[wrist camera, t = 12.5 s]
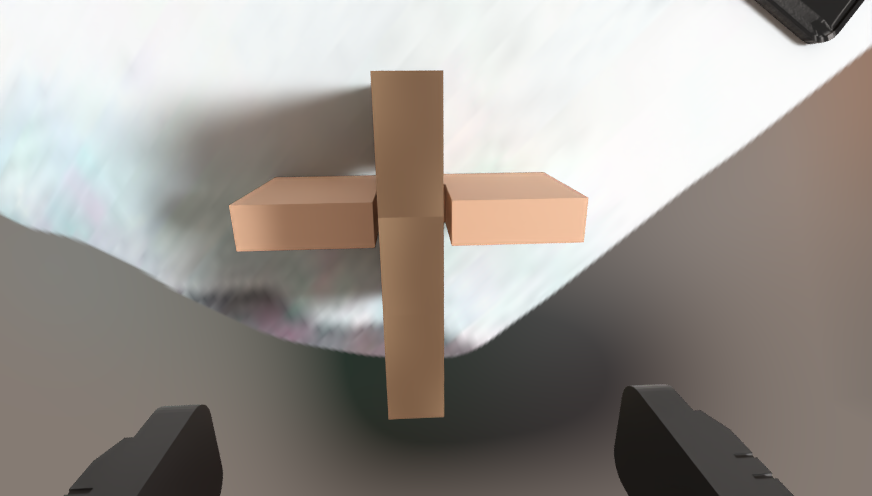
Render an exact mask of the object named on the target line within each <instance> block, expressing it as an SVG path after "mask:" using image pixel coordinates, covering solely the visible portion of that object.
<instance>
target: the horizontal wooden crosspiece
mask: <svg viewBox="0 0 872 496" xmlns="http://www.w3.org/2000/svg"><path fill="white" fill-rule="evenodd" d="M443 199H444V222H445V223H446V227H447V230H448V234H449V237H450V241H451V244H452V246H462V245H499V244H537V243H574V242H584V234H585V225H586V216H587V206H588V197H586V196H584V195H583V194H581V193H579V192H577V191H576V190H574V189H572V188H570V187H569V186H567V185H565V184H563V183H562V182H560V181H558V180H556V179H555V178H553V177H551V176H549V175H547V174H546V173H544V172H531V173H477V174H443ZM229 209H230V215H231V221H232V227H233V233H234V239H235V245H236V251H274V250H312V249H349V248H375V245H376V241H377V236H378V232H379V225H378V206H377V187H376V175H368V176H313V177H275V178H273V179H272V180H270V181H268V182H267V183H265V184H264V185H262V186H260V187H259V188H257V189H255V190H254V191H252V192H250V193H249V194H247V195H245V196H244V197H242V198H240V199H239V200H237V201H235V202H234V203H232V204H230V205H229Z"/></svg>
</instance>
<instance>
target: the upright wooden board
mask: <svg viewBox="0 0 872 496" xmlns="http://www.w3.org/2000/svg"><path fill="white" fill-rule="evenodd" d="M370 72H371V91H372V110H373V129H374V148H375V167H376V187H377V206H378V225H379V244H380V263H381V282H382V301H383V320H384V340H385V359H386V378H387V396H388V413H389V415H388V416H389V419H406V418H427V417H444V199H443V71H370Z"/></svg>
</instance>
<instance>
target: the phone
mask: <svg viewBox="0 0 872 496" xmlns="http://www.w3.org/2000/svg"><path fill="white" fill-rule="evenodd" d="M755 1H756V2H757V3H759V4H760V5H761V6H762V7H763V8H764V9H766V10H767V11H768V12H769V13H770V14H772V15H773V16H774V17H775V18H776V19H777V20H779V21H780V22H781V23H782V24H783V25H785V26H786V27H787V28H788V29H789V30H790V31H792V32H793V33H794V34H795V35H796V36H798V37H799V38H800V39H801V40H802V41H804V42H806V43H809V44H815V43H822V42H826V41H829V40H831V39H833V38H834V37H835V36H836V35H837V34H838V33H839V32H840V31H841V30H842V28H843V27H844V26H845V24H846V23H847V22H848V21H849V19H850V18H851V17H852V16H853V14H854V13H855V12H856V10H857V9H858V8H859V7H860V5H861V4H862V3H863V2H864V0H755Z"/></svg>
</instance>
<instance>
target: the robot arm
mask: <svg viewBox="0 0 872 496" xmlns="http://www.w3.org/2000/svg"><path fill="white" fill-rule="evenodd" d="M614 458H615V465H616V469H617V473H618V475H619V478H620V481H621V483H622V485H623V486H624V488H625V490H626V492H627V494H628V496H794V495H793V494H792V493H791V492H790V491H789V490H788V489H787V488H786V487H785V486H784V485H783V484H782V483H781V482H780V481H779V480H778V479H776V478H775V479H774V478H773V477H772V473H771V471H769V469H768V468H767V467H766V466H765V465H764V464H763V463H762V462H761V461H760V460H759V459H758V458H754V457H753V455H752V452H751V451H750V450H749V449H748V448H747V447H746V446H745V445H744V444H743V442H741V440H740V439H739V438H738V437H737V436H736V435H735V434H734V433H733V432H732V431H731V430H730V429H729V428H727V427H725V426H724V425H723V424H721V423H719V422H718V421H716V420H715V419H713V418H712V417H710V416H708V415H707V414H706V413H704V412H702V411H701V410H695V411H693V409H692V408H691V407H690V406H689V405H688V404H687V403H686V402H685V401H684V400H683V399H682V397H680V395H679V394H678V393H677V392H676V391H675V390H674V389H673V388H672V387H671V386H669V385H667V384H658V385H639V386H638V385H637V386H627V387H626V388H625V389H624V392H623V395H622V400H621V407H620V413H619V420H618V426H617V433H616V439H615V445H614ZM222 481H223V470H222V464H221V459H220V454H219V450H218V445H217V441H216V436H215V431H214V427H213V422H212V417H211V413H210V410H209V408H208V407H207V406H206V405H186V406H185V405H184V406H164V407H160V408H158V409H157V410H156V411H155V412H154V413H153V414H152V415H151V416H150V418H149V419H148V420H147V421H146V423H145V424H144V425H143V427H142V428H141V429H140V430H139V431H138V433H137V434H136V435H135V436H134V437H133V438H132V437H131V438H124V439H123V440H121V441H120V442H119V443H117V444H116V445H114V446H113V447H112V448H110V449H109V450H108V451H106V452H105V453H104V454H102V455H101V456H100V457H98V458H97V459H96V460H94V461H93V462H92V463H91V464H90V466H89V467H88V468H87V469H86V470H85V471H84V473H83V474H82V475H81V476H80V477H79V478H78V480H77V481H76V482H75V483H74V484H73V486H72V487H71V488H70V489H69V494H68V495H64V496H220V494H221V489H222Z"/></svg>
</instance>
